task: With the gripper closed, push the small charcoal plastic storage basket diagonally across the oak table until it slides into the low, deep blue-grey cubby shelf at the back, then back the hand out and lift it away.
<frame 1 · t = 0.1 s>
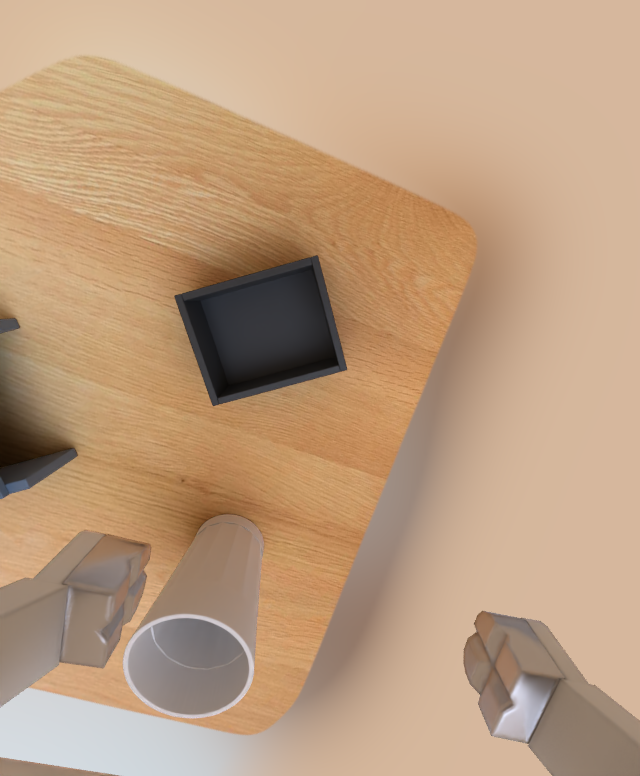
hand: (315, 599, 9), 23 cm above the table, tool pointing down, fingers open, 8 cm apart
cup: (230, 543, 35), on the table
basket: (269, 328, 31), on the table
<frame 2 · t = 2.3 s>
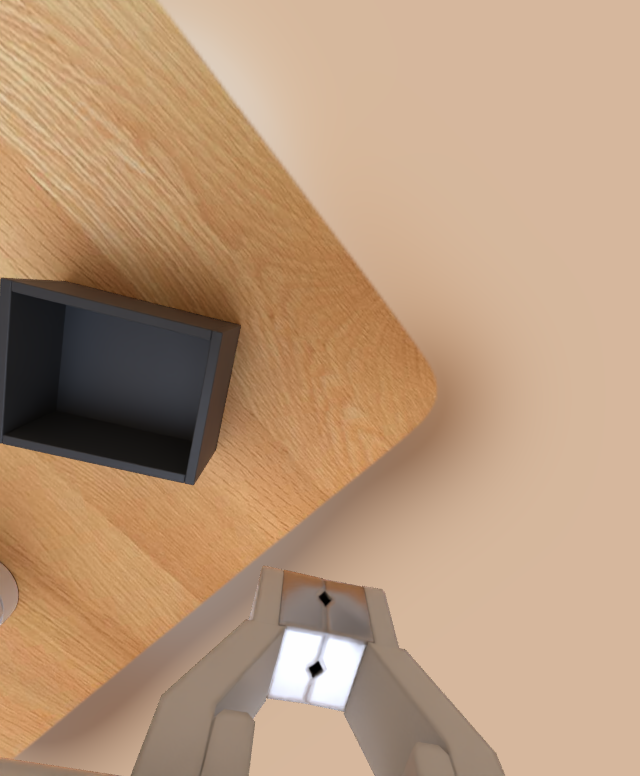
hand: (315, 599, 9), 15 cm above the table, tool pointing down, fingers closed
basket: (144, 370, 22), on the table
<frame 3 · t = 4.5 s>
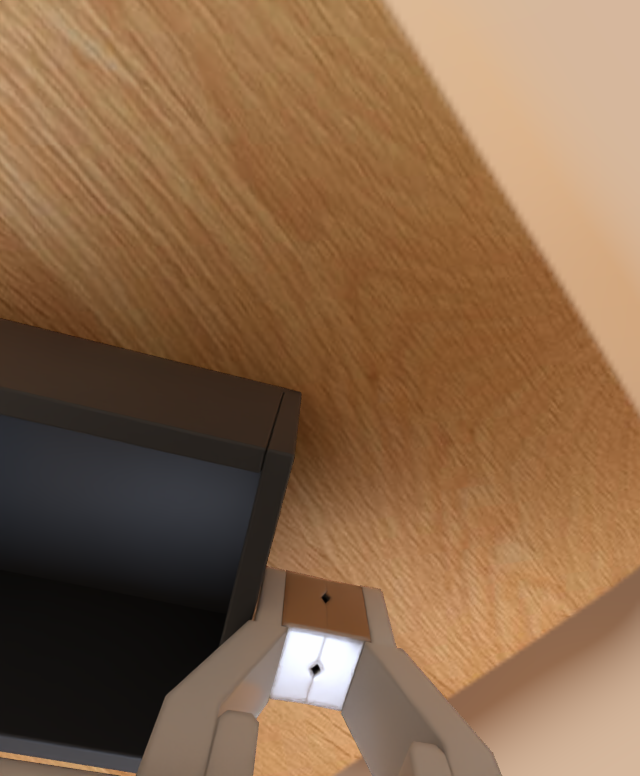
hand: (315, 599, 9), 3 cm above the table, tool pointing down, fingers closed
basket: (108, 477, 11), on the table, touching gripper
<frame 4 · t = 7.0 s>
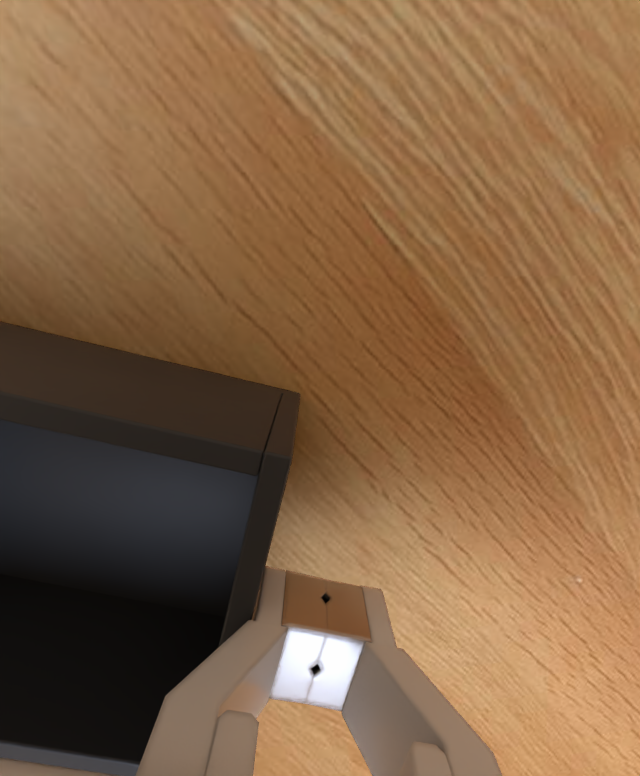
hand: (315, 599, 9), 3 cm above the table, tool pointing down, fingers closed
basket: (106, 480, 11), on the table, touching gripper
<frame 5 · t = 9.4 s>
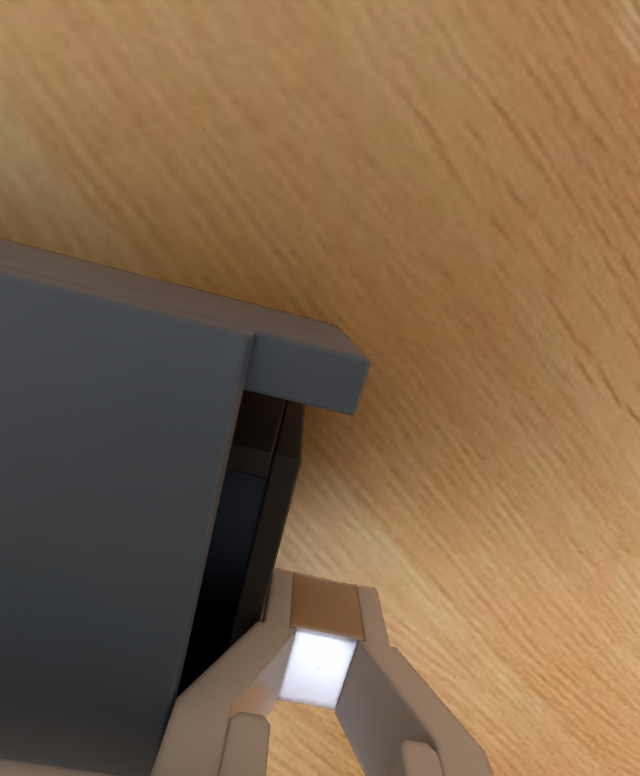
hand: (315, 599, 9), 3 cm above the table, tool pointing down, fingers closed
basket: (112, 481, 11), on the table, touching gripper
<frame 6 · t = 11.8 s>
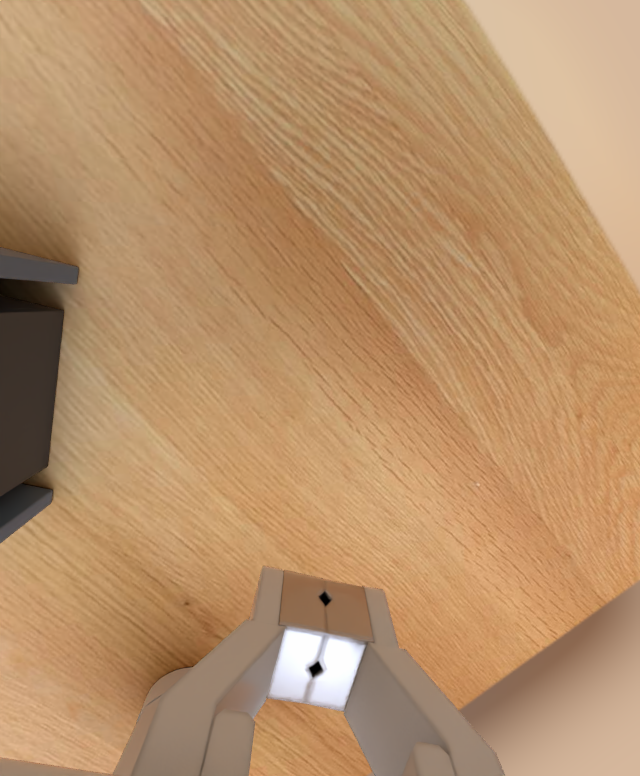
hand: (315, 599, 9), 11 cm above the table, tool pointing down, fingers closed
cup: (198, 706, 23), on the table
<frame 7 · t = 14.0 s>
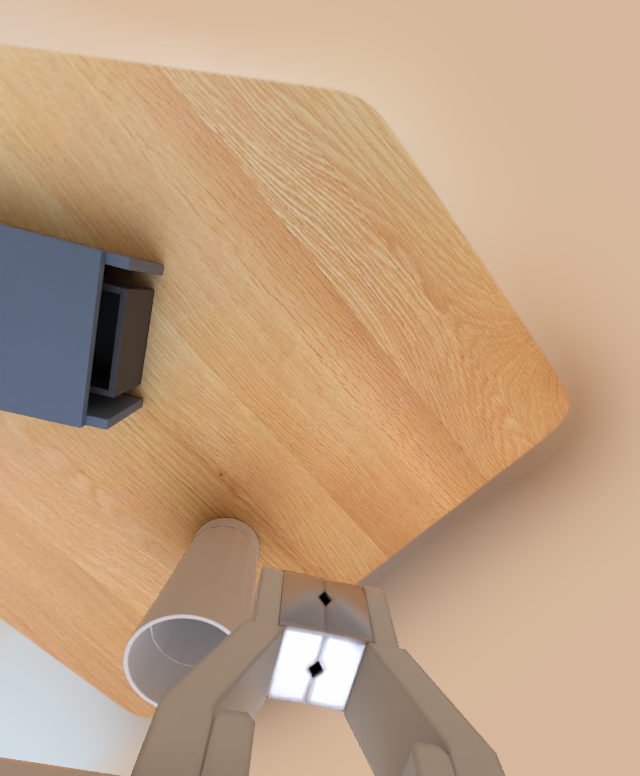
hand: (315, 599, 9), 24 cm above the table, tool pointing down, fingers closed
cup: (227, 546, 36), on the table
basket: (86, 323, 31), on the table
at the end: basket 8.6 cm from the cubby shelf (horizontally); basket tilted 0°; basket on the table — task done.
